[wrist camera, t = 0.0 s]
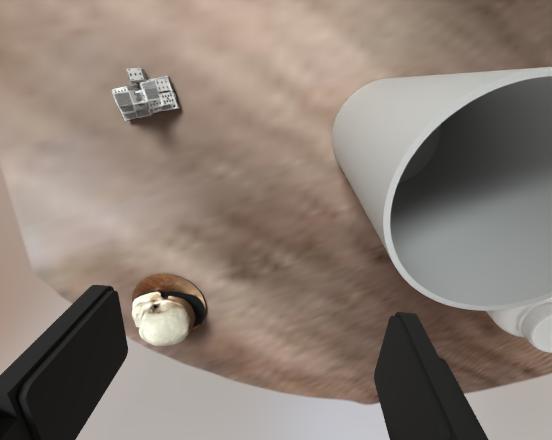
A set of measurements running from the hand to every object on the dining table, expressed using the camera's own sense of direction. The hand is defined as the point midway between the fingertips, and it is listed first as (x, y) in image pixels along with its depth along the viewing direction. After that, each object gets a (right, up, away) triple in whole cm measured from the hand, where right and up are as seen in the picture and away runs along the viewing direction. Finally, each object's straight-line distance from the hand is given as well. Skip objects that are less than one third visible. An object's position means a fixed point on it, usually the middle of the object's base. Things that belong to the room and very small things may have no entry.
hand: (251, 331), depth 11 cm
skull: (-17, -12, +43) cm, 48 cm away
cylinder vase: (+14, +15, +27) cm, 34 cm away
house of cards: (-15, +21, +27) cm, 37 cm away
